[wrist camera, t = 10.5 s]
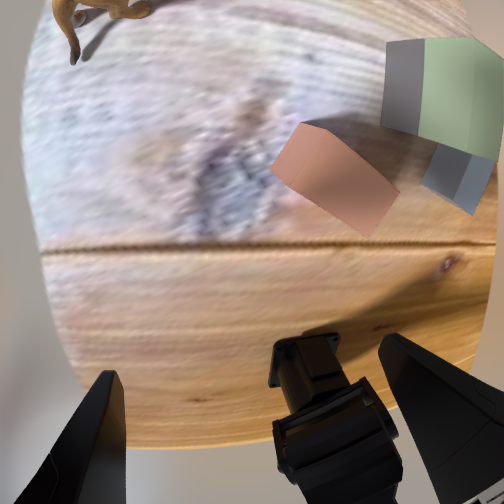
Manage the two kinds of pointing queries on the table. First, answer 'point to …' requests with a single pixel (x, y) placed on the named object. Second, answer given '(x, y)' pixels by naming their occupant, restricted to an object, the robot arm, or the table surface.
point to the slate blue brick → (458, 176)
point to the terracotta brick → (334, 178)
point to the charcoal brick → (403, 85)
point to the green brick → (463, 96)
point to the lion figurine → (70, 20)
